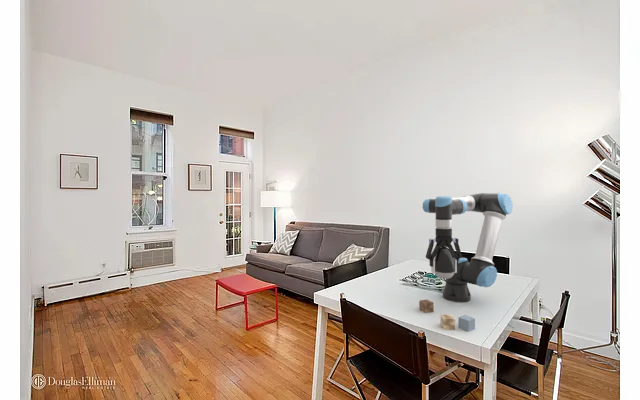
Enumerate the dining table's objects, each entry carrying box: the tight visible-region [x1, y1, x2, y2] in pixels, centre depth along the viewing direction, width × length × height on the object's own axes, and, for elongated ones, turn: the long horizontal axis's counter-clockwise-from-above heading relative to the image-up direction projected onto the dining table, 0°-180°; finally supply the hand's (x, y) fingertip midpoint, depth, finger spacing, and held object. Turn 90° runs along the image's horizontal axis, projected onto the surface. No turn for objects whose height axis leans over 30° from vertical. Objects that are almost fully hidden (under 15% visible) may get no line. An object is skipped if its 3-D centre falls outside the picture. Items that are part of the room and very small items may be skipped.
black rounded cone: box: [434, 247, 455, 280], centre depth 156 cm, size 10×10×15 cm
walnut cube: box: [418, 299, 434, 314], centre depth 166 cm, size 5×5×5 cm
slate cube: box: [457, 314, 476, 333], centre depth 145 cm, size 5×5×5 cm
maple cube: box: [440, 314, 456, 331], centre depth 146 cm, size 5×5×5 cm
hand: (443, 272), depth 156 cm, fingers closed on black rounded cone, 10 cm apart
